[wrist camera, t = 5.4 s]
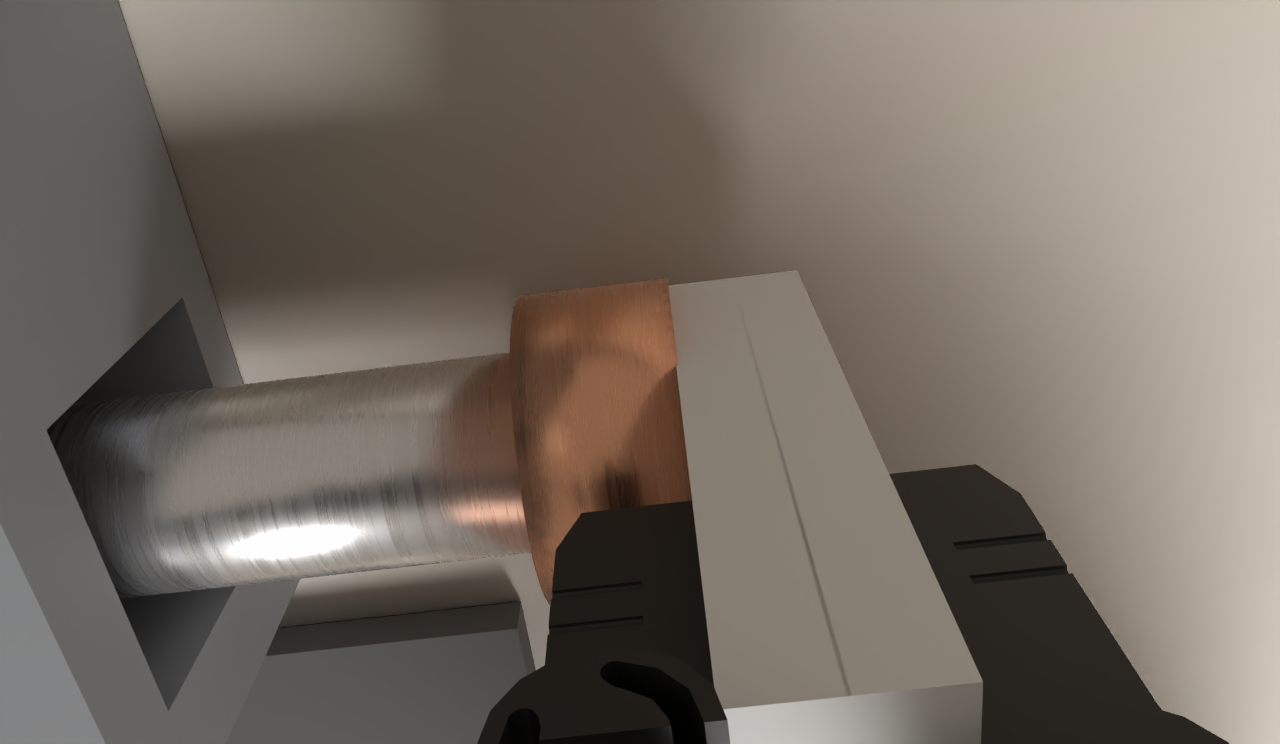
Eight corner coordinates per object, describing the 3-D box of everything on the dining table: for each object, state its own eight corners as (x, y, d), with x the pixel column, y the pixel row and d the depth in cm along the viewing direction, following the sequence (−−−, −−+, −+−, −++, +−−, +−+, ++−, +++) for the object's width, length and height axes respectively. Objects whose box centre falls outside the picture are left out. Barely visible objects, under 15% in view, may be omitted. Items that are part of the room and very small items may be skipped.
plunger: (-74, 567, 14) (-271, 766, 11) (-195, 340, 12) (-462, 494, 9) (690, 481, 13) (711, 660, 10) (662, 235, 12) (677, 359, 9)
